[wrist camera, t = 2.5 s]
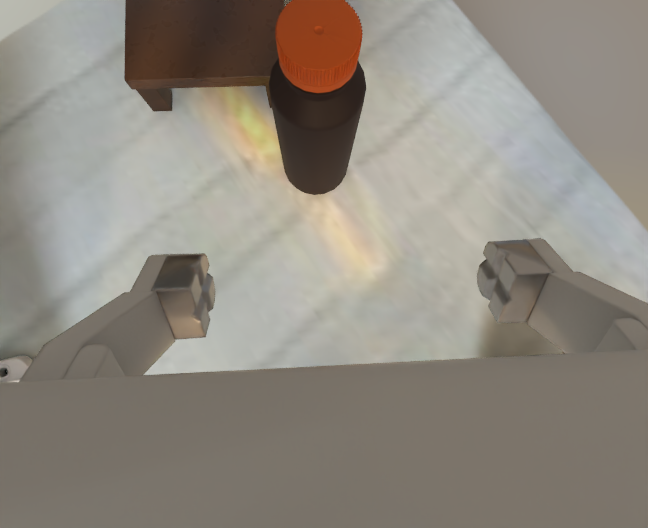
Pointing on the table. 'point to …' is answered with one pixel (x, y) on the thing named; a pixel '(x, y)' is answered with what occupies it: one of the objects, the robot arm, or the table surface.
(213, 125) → the table surface
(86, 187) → the table surface
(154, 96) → the stand
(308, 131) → the vinegar
